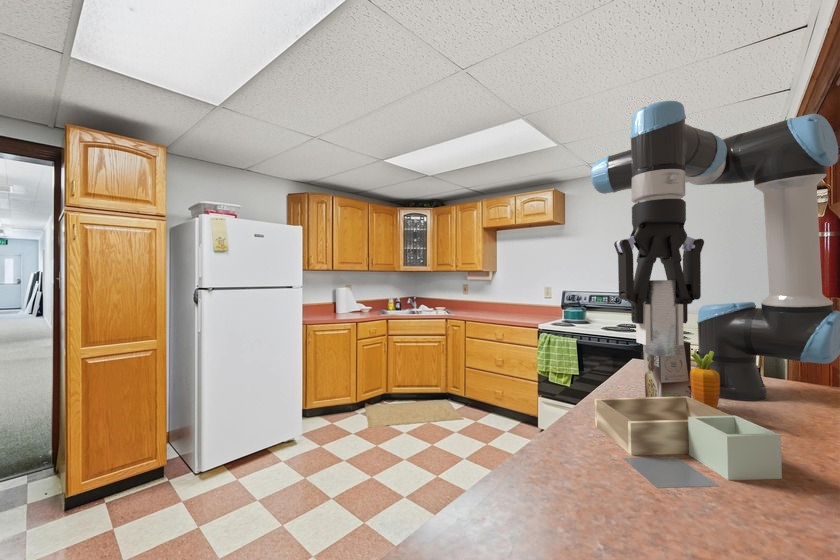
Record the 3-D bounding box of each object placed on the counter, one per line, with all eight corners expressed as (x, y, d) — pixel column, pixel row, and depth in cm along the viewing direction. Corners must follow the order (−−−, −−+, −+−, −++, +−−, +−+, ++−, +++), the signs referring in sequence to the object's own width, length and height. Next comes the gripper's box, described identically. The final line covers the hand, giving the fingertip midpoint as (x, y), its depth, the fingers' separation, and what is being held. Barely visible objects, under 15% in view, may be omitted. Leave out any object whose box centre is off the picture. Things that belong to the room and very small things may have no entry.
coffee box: (693, 416, 82) (692, 342, 82) (661, 415, 83) (659, 342, 83) (673, 402, 91) (671, 335, 91) (644, 401, 92) (642, 335, 92)
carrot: (689, 423, 78) (687, 351, 78) (693, 417, 82) (691, 347, 82) (719, 429, 75) (718, 354, 75) (722, 422, 79) (720, 350, 79)
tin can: (664, 350, 64) (663, 280, 64) (683, 356, 60) (682, 280, 60) (637, 350, 64) (636, 280, 64) (653, 356, 60) (653, 280, 60)
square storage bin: (736, 456, 64) (735, 415, 64) (781, 482, 56) (780, 435, 56) (689, 458, 64) (688, 416, 64) (728, 483, 56) (727, 436, 56)
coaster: (676, 460, 63) (676, 456, 63) (719, 490, 54) (719, 485, 54) (622, 461, 63) (622, 458, 63) (657, 491, 54) (657, 487, 54)
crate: (687, 425, 77) (687, 396, 77) (742, 455, 64) (741, 420, 64) (595, 428, 77) (594, 398, 77) (631, 458, 64) (630, 423, 64)
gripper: (615, 196, 59) (617, 347, 58) (730, 195, 58) (732, 347, 58) (593, 206, 66) (595, 340, 66) (695, 205, 66) (696, 339, 66)
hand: (659, 343), depth 62 cm, fingers closed on tin can, 4 cm apart
